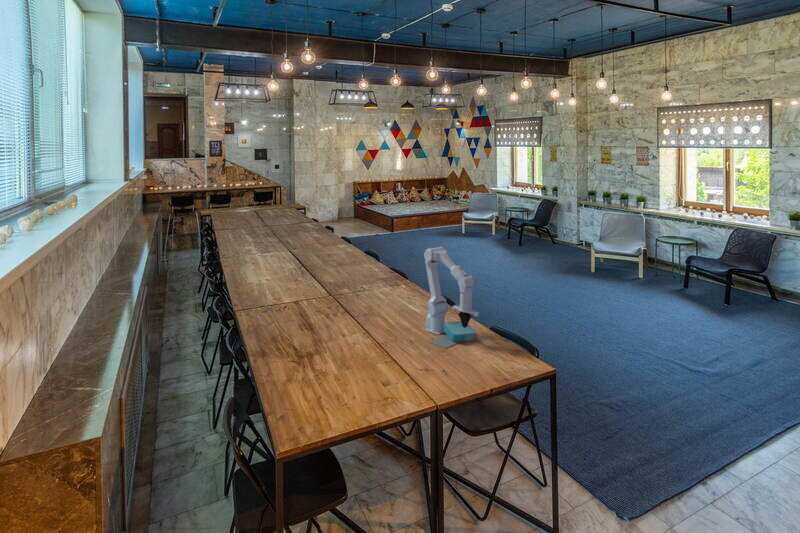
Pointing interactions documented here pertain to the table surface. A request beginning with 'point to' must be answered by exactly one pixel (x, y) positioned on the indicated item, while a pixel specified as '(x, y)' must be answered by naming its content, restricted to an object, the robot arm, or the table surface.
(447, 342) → the mat
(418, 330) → the table surface
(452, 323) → the data package
